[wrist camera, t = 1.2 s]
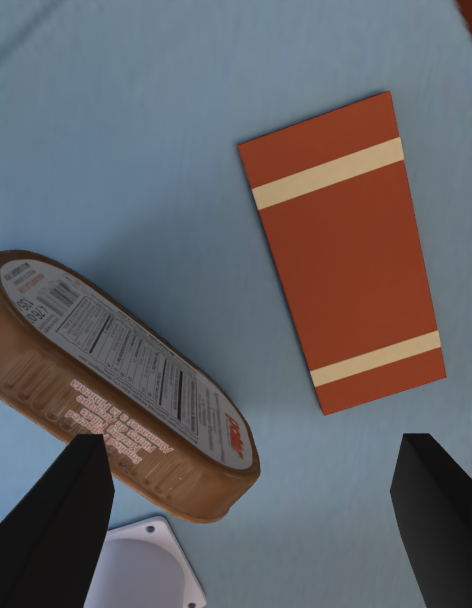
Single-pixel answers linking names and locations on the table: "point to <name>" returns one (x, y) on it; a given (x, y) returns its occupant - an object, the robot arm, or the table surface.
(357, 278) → the towel
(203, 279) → the table surface
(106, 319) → the tin
